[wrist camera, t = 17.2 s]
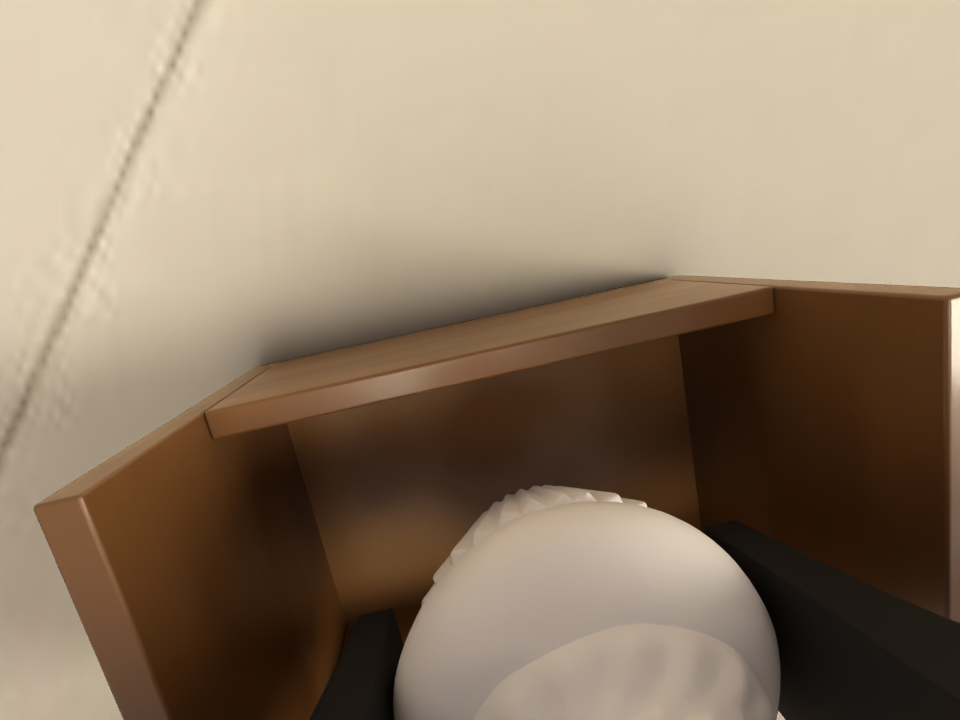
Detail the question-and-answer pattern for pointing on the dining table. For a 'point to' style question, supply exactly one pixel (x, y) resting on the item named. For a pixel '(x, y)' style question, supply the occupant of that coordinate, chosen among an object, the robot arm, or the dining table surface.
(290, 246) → the dining table surface
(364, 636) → the robot arm
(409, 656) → the white swirled dome
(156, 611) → the wooden crate
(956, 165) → the dining table surface
